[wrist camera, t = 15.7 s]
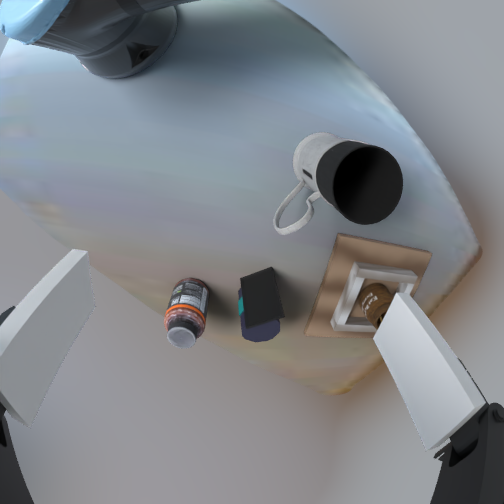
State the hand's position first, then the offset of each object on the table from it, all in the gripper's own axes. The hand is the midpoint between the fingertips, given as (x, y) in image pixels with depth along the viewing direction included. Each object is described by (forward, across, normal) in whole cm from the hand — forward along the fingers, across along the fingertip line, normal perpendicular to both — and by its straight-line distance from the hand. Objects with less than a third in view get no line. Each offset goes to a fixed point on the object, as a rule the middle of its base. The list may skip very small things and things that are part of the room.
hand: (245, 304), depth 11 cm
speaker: (+29, +6, -18) cm, 35 cm away
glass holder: (+29, +9, +2) cm, 30 cm away
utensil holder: (+28, +26, -16) cm, 41 cm away
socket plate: (+29, +26, -16) cm, 42 cm away
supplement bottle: (+29, -5, -20) cm, 35 cm away
